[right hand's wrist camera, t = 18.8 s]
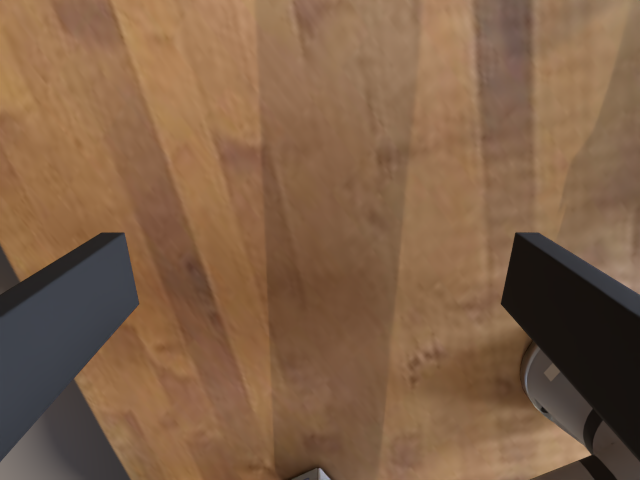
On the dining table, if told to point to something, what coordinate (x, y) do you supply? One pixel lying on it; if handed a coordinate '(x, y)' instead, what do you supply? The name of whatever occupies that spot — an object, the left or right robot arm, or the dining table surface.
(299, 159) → the dining table surface
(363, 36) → the dining table surface
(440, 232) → the dining table surface
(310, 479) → the hard drive box
